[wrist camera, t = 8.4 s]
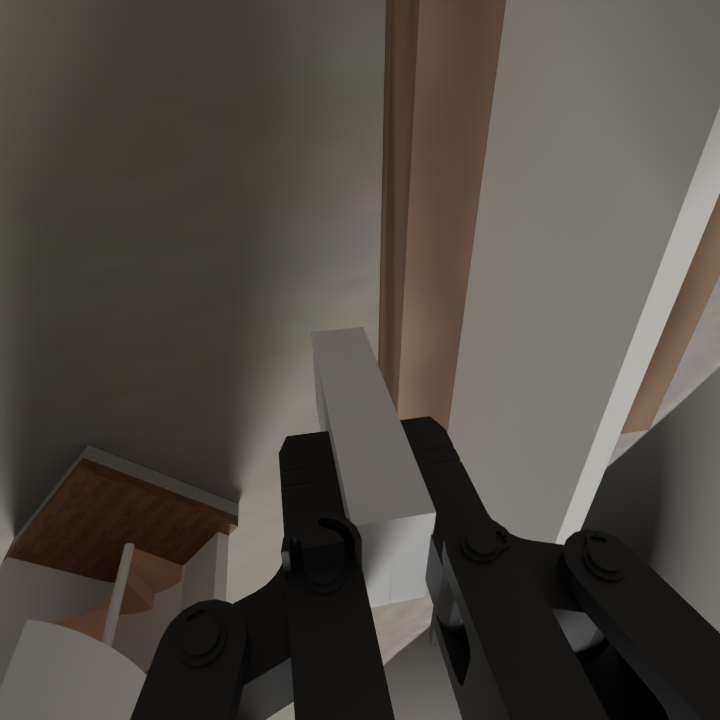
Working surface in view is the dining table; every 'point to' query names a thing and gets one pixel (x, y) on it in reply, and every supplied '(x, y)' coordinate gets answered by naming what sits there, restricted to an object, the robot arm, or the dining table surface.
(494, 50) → the wooden tray
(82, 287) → the dining table surface
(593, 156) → the duct cover
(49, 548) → the wood-lined white cubby
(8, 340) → the dining table surface
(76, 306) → the dining table surface
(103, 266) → the dining table surface
